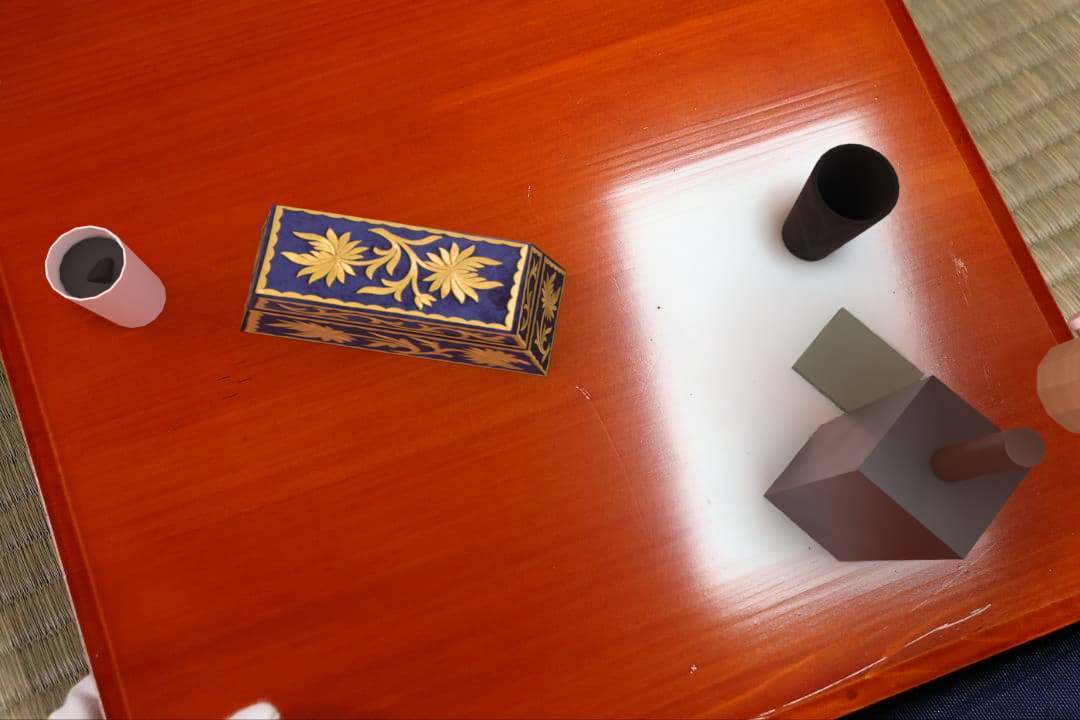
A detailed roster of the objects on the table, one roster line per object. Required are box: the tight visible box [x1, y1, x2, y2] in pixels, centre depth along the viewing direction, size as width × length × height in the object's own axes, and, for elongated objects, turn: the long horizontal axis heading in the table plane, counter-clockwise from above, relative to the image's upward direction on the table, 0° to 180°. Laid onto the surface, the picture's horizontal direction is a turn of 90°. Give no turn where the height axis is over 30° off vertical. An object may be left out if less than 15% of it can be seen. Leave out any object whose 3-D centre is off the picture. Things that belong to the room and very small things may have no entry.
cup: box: [780, 143, 901, 262], centre depth 81 cm, size 8×8×12 cm
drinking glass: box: [44, 225, 167, 329], centre depth 77 cm, size 7×7×10 cm
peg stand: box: [763, 374, 1046, 563], centre depth 65 cm, size 9×9×31 cm
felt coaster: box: [791, 306, 926, 414], centre depth 83 cm, size 10×8×1 cm
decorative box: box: [239, 203, 567, 378], centre depth 79 cm, size 11×30×9 cm, turn 82°
